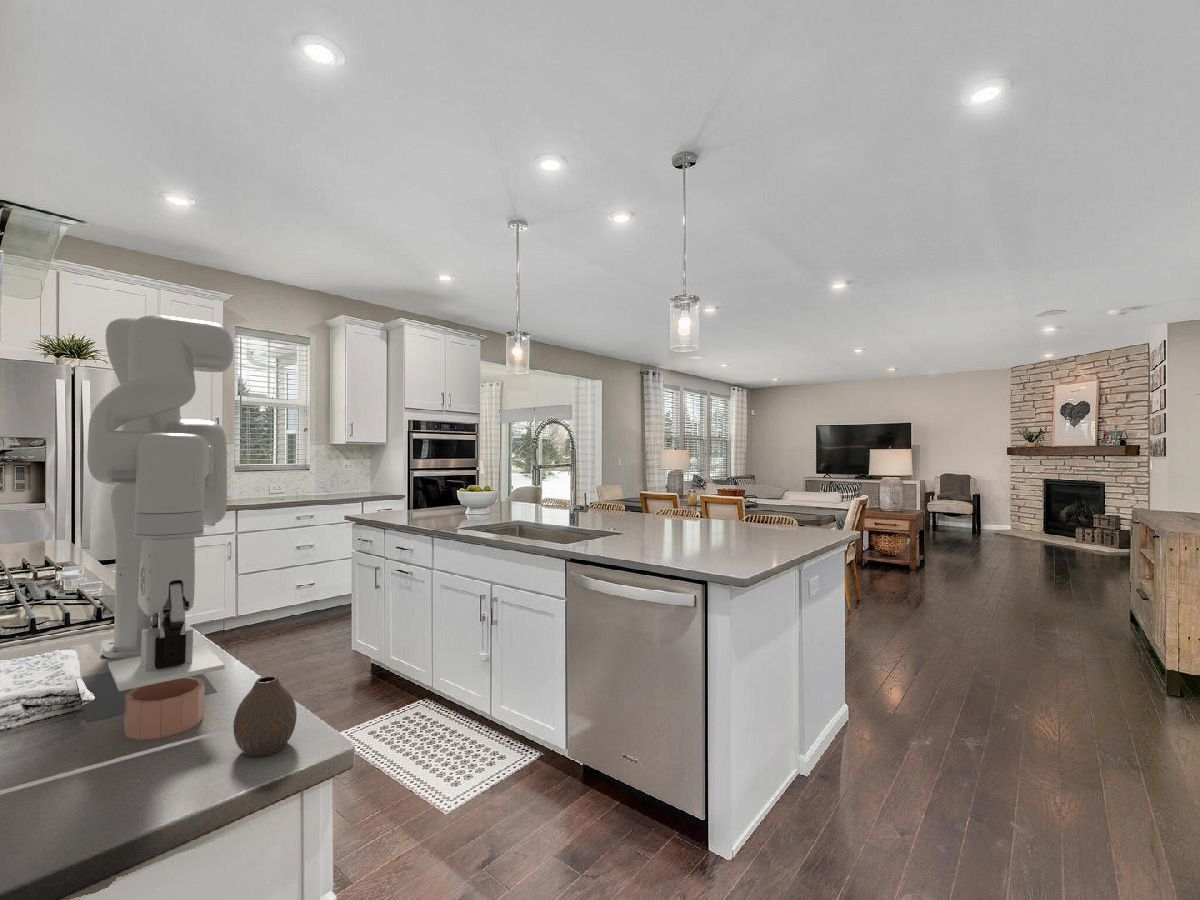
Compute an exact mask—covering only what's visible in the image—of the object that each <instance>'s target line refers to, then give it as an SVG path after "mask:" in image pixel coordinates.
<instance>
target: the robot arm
mask: <svg viewBox="0 0 1200 900" xmlns="http://www.w3.org/2000/svg"><path fill="white" fill-rule="evenodd" d="M105 345H106V352H107V355H108V358H109V362H110V364H111V366H112V368H113V371H114V373H115V375H116V378H117V380H118V382H119V384H120V385H118V386H117V387H115V388H114V389H112V390H111V391H110V392H108V393H106V395H105V396H104V397H103V398H101V400H100V401H99V402H98V403H97V404H96V406H95V408H94V409H93V410H92V413H91V416H90V419H89V423H88V433H87V435H88V436H87V437H88V438H87V455H86V456H87V458H86V459H87V465H88V466H87V467H88V470H89V474H90V475H91V476H92V477H93V478H94V479H95V480H96V481H97V482H99V483H102V484H105V485H113V486H114V487H113V489H112V490H111V494H110V508H111V514H112V519H113V525H114V527H113V528H114V534H115V535H114V537H115V584H114V585H115V587H114V590H115V591H114V626H113V629H114V631H113V640H112V641H110V642H108V643H107V644H105V645H103V647H102V649H101V654H102V656H103V657H105V658H108V659H120V660H123V659H128V658H134V657H139V656H141V639H142V630H145V629H151V628H158V637H157V638H155V667H156V669H162V668H167V667H172V666H177V665H182V664H184V663H185V654H186V633H185V623H186V612H189V611H190V610H191V609H193V608H194V601H195V582H196V581H195V579H196V578H195V577H196V567H195V566H196V558H195V557H196V556H195V555H196V550H195V549H196V548H195V546H196V544H195V537H199V536H202V535H204V533H205V532H204V527H205V526H209V525H215V524H217V523H220V522H221V521H222V520H223V519H224V518H225V516H226V513H227V507H228V447H227V446H228V444H227V437H226V433H225V431H224V428H223V427H222V426H221V425H220V424H219V423H217V422H215V421H212V420H206V419H192V418H191V419H188V418H187V419H185V418H182V416H181V407H183V406H185V405H186V404H188V403H189V402H191V401H192V399H193V397H194V396H195V394H196V392H197V391H196V388H197V385H196V380H195V379H196V378H195V372H203V373H204V372H205V373H222V372H225V371H227V370H228V369H229V368H230V366H231V365H232V362H233V359H234V343H233V338H232V336H231V334H230V332H229V331H228V329H227V328H226V327H225V326H223V325H222V324H221V323H218V322H213V321H212V322H211V321H205V320H199V319H190V318H184V317H178V316H177V317H176V316H168V315H160V314H159V315H158V314H152V315H144V316H141V317H124V318H122V317H121V318H117V319H114V320H112V321H110V322H109V323H108V325H107V327H106V329H105ZM120 427H122V430H117V429H118V428H120Z"/></svg>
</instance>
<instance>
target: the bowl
mask: <svg viewBox="0 0 1200 900" xmlns="http://www.w3.org/2000/svg"><path fill="white" fill-rule="evenodd" d="M205 696H206V695H205V683H204V682H203V680H202V679H200V678H194V677H184V678H179V679H175V680H170V681H165V682H161V683H156V684H151V685H146V686H142V687H137V688H133V689H132V690H131V691H130V692H128V693H127V694H126V695H125V709H124V714H123V715H124V716H123V719H124V720H123V732H124V735H125V737H126V738H130V739H134V740H140V741H142V740H143V741H144V740H152V739H162V738H166V737H169V736H173V735H177V734H180V733H184V732H185V731H187V730H189V729H191V728H193V727H195V726H197V725H199V723H200V722H201V721H202V720H203V719H204V717H205Z"/></svg>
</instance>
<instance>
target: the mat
mask: <svg viewBox="0 0 1200 900" xmlns="http://www.w3.org/2000/svg"><path fill="white" fill-rule="evenodd" d="M204 674H205V673H203V674H198V675H194V676H189V677H194V678H200V679H202V680H203V682H204V683H205V695H204V696H206V695H207V696H208V695H210V694H211V695H212V694H214V693H218V691H217V689H216V688H215V687H214V686H213V684H212V683H211V682H210V681H209V679H208V678H207V677H206V676H205V675H204ZM81 677H82V679H83V681H84V683H85V685H86V687H87V689H88V690H89V691H90V692H92V693H93V694H94V696H95V699H94V700H93V701H91V702H89V703H87V704H84V705H82V704H81V707H82V710H83V711H82V712H83V715H84V719H85V723H86V724H88V723H92V722H96V721H100V720H104V719H109V718H113V717H117V716H118V717H119V716H122V715H124V709H125V695H126V694H127V693H128V692H130V691H131V690H132V689H133V688H132V689H127V690H123V691H119V690H118V688H117V685H116V683H115V681H114V678H113V676H112V674H111V671H105V672H101V673H96V674H91V675H86V676H81Z"/></svg>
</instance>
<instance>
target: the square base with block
mask: <svg viewBox="0 0 1200 900" xmlns="http://www.w3.org/2000/svg"><path fill="white" fill-rule="evenodd" d="M185 633H186V654H185V663H184V664H182V665H177V666H172V667H167V668H162V669H156V667H155V638H157V637H158V628H151V629H145V630H142V639H141V656H139V657H134V658H122V659H119V660H113V661H112V660H111V661H108V669H109V672H111V674H112V676H113V678H114V681H115V683H116V685H117V688H118V690H119V691H123V690H127V689H132V688H137V687H142V686H146V685H151V684H156V683H161V682H165V681H170V680H175V679H179V678H184V677H189V676H194V675H198V674H206V673H207V674H208V673H211V672H212V673H213V672H217V671H221V670H225V666H226V665H225V663H224V662H223V661H222V660H221V659H220V658H219V656H217V655H216V653H214V652H213V650H212V649H211V648H210V647H209V646H208V645H207V644H200V645H196V646H194V645H193V642H194V629H193V628H192V626H190V624H189V623H188V622H185Z"/></svg>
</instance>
